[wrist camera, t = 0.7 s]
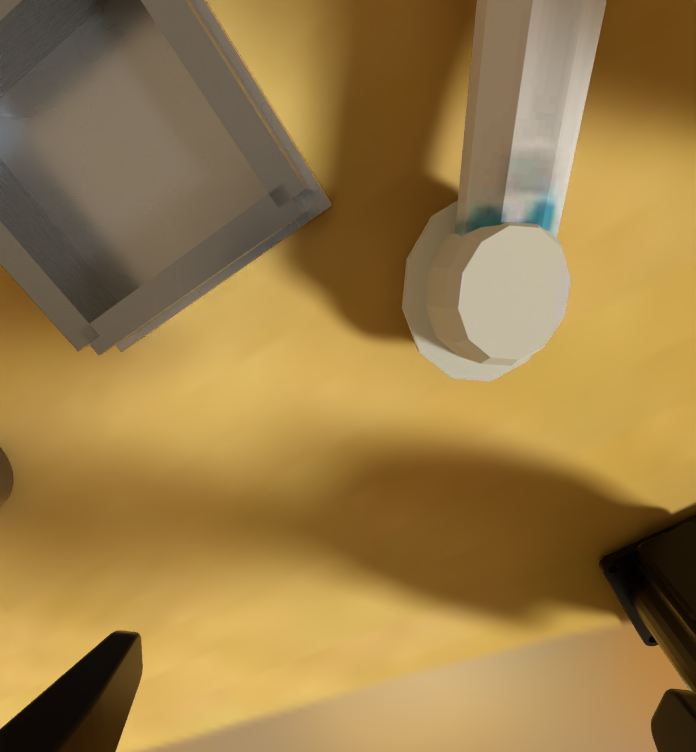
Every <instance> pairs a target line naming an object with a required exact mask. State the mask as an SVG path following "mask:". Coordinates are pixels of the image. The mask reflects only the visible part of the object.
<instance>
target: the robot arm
mask: <svg viewBox="0 0 696 752" xmlns="http://www.w3.org/2000/svg"><path fill="white" fill-rule="evenodd" d="M612 565H613V566H612ZM599 566H600V568H601V570H602V572H603V574H604V575H605V577H606V579H607V581H608V582H609V584H610V586H611V587H612V589H613V591H614V593H615V594H616V596H617V598H618V599H619V601H620V603H621V605H622V606H623V608H624V610H625V611H626V613H627V615H628V617H629V618H630V620H631V622H632V624H633V625H634V627H635V629H636V630H637V632H638V634H639V636H640V637H641V639H642V640H643V642H644V643H645V644H646V645H648V646H656V645H659V646H660V647H661V649H662V650H663V651H664V653H665V655H666V656H667V657H668V659H669V661H670V662H671V663H672V665H673V666H674V668H675V669H676V671H677V672H678V674H679V675H680V677H681V678H682V680H683V681H684V683H685V684H686V685H687V687H688V688H689V690H690V691H689V690H680V689H669V690H667V691H666V692H665V693H664V695H663V697H662V699H661V701H660V703H659V705H658V707H657V709H656V711H655V713H654V715H653V717H652V720H651V731H652V736H653V739H654V742H655V745H656V747H657V750H658V752H696V516H694V517H692V518H690V519H687V520H685V521H683V522H681V523H679V524H676V525H674V526H672V527H670V528H667V529H665V530H663V531H661V532H659V533H656V534H654V535H652V536H650V537H648V538H645V539H643V540H641V541H639V542H636V543H634V544H632V545H630V546H628V547H625V548H623V549H621V550H619V551H616V552H614V553H612V554H610V555H608V556H605V557H604V558H602V560H601V561H600V563H599ZM611 566H612V567H611ZM142 669H143V664H142V646H141V636H140V634H139V633H137V632H129V631H115V632H113V633H111V634H110V635H109V636H108V637H106V638H105V639H104V640H103V641H102V642H101V643H99V644H98V645H97V646H96V647H95V648H94V649H93V650H91V651H90V652H89V653H88V654H87V655H86V656H84V657H83V658H82V659H81V660H80V661H79V662H77V663H76V664H75V665H74V666H73V667H72V668H71V669H69V670H68V671H67V672H66V673H65V674H64V675H62V676H61V677H60V678H59V679H58V680H57V681H55V682H54V683H53V684H52V685H51V686H50V687H48V688H47V689H46V690H45V691H44V692H43V693H42V694H40V695H39V696H38V697H37V698H36V699H35V700H33V701H32V702H31V703H30V704H29V705H28V706H26V707H25V708H24V709H23V710H22V711H21V712H20V713H18V714H17V715H16V716H15V717H14V718H13V719H11V720H10V721H9V722H8V723H7V724H6V725H4V726H3V727H2V728H1V729H0V752H115V751H116V749H117V746H118V743H119V740H120V737H121V734H122V731H123V729H124V726H125V723H126V720H127V717H128V714H129V712H130V709H131V706H132V703H133V700H134V697H135V694H136V692H137V689H138V686H139V683H140V680H141V675H142Z"/></svg>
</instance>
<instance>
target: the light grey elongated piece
mask: <svg viewBox="0 0 696 752" xmlns="http://www.w3.org/2000/svg"><path fill="white" fill-rule="evenodd" d="M606 2H607V0H477V4H476V15H475V25H474V36H473V46H472V57H471V68H470V78H469V89H468V99H467V110H466V120H465V131H464V142H463V152H462V163H461V173H460V184H459V195H458V200H457V201H455V202H454V203H452V204H450V205H449V206H447V207H446V208H444V209H442V210H441V211H439V212H437V213H436V214H434V215H432V216H431V218H430V219H429V221H428V223H427V224H426V226H425V228H424V230H423V231H422V233H421V235H420V236H419V238H418V240H417V242H416V243H415V245H414V247H413V248H412V250H411V252H410V254H409V255H408V257H407V259H406V269H405V279H404V289H403V300H402V310H403V312H404V315H405V318H406V320H407V323H408V326H409V329H410V331H411V334H412V337H413V340H414V342H415V345H416V348H417V350H418V351H419V352H420V353H421V354H422V355H423V356H425V357H426V358H427V359H428V360H429V361H431V362H432V363H433V364H434V365H436V366H437V367H438V368H439V369H441V370H442V371H443V372H444V373H445V374H447V375H448V376H449V377H450V378H452V379H466V380H480V381H492V380H494V379H496V378H498V377H500V376H502V375H503V374H505V373H507V372H509V371H511V370H512V369H514V368H516V367H518V366H520V365H521V364H523V363H525V362H527V361H529V360H530V358H531V357H532V355H533V354H534V353H536V352H538V351H539V350H541V349H542V348H543V347H544V346H545V345H546V343H547V342H548V340H549V339H550V338H551V336H552V335H553V333H554V332H555V330H556V329H557V327H558V326H559V324H560V323H561V321H562V320H563V318H564V317H565V313H566V307H567V302H568V296H569V290H570V285H571V278H570V275H569V271H568V268H567V264H566V261H565V257H564V254H563V250H562V247H561V244H560V241H559V240H558V239H557V235H558V230H559V225H560V220H561V216H562V211H563V206H564V201H565V197H566V192H567V187H568V182H569V178H570V173H571V168H572V164H573V159H574V154H575V149H576V145H577V140H578V135H579V130H580V126H581V121H582V116H583V111H584V107H585V102H586V97H587V92H588V88H589V83H590V78H591V73H592V69H593V64H594V59H595V54H596V50H597V45H598V40H599V35H600V31H601V26H602V21H603V17H604V12H605V7H606Z"/></svg>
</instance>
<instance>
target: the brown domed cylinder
mask: <svg viewBox="0 0 696 752" xmlns="http://www.w3.org/2000/svg"><path fill="white" fill-rule="evenodd" d="M12 486H13V473H12V469H11V465H10V463H9V461H8V458H7V457H6V455H5V453H4V452H3V451H2V449H1V448H0V506H1V505H2V504H3V503H4V502H5V501H6V500H7V498H8V497H9V495H10V493H11V490H12Z"/></svg>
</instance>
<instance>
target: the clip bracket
mask: <svg viewBox="0 0 696 752" xmlns="http://www.w3.org/2000/svg"><path fill="white" fill-rule="evenodd" d="M332 205H333V204H332V203H331V201H330V199H329V198H328V196H327V195H326V193H325V191H324V190H323V188H322V186H321V185H320V183H319V182H318V180H317V178H316V177H315V175H314V174H313V172H312V170H311V169H310V167H309V166H308V164H307V162H306V161H305V159H304V157H303V156H302V154H301V153H300V151H299V149H298V148H297V146H296V145H295V143H294V141H293V140H292V138H291V137H290V135H289V133H288V132H287V130H286V128H285V127H284V125H283V124H282V122H281V120H280V119H279V117H278V116H277V114H276V112H275V111H274V109H273V108H272V106H271V104H270V103H269V101H268V99H267V98H266V96H265V95H264V93H263V91H262V90H261V88H260V87H259V85H258V83H257V82H256V80H255V79H254V77H253V75H252V74H251V72H250V70H249V69H248V67H247V66H246V64H245V62H244V61H243V59H242V58H241V56H240V54H239V53H238V51H237V50H236V48H235V46H234V45H233V43H232V41H231V40H230V38H229V37H228V35H227V33H226V32H225V30H224V29H223V27H222V25H221V24H220V22H219V21H218V19H217V17H216V16H215V14H214V12H213V11H212V9H211V8H210V6H209V4H208V3H207V1H206V0H0V265H1V266H2V267H3V268H4V269H5V270H6V271H7V272H8V274H9V275H10V276H11V277H12V278H13V279H14V280H15V281H16V282H17V284H18V285H19V286H20V287H21V288H22V289H23V290H24V291H25V293H26V294H27V295H28V296H29V297H30V298H31V299H32V300H33V301H34V303H35V304H36V305H37V306H38V307H39V308H40V309H41V310H42V312H43V313H44V314H45V315H46V316H47V317H48V318H49V319H50V320H51V322H52V323H53V324H54V325H55V326H56V327H57V328H58V329H59V331H60V332H61V333H62V334H63V335H64V336H65V337H66V338H67V339H68V341H69V342H70V343H71V344H72V345H73V346H74V347H75V348H76V350H77V351H80V350H81V349H83V348H85V347H87V346H89V345H90V346H91V347H92V348H93V349H94V350H95V351H96V352H97V354H98V355H101V354H103V353H104V352H106V351H107V350H109V349H110V348H112V347H114V346H115V345H116V346H117V347H118V348H119V350H120V351H121V352H122V351H124V350H125V349H127V348H128V347H129V346H131V345H132V344H134V343H135V342H137V341H138V340H140V339H141V338H143V337H144V336H145V335H147V334H148V333H150V332H151V331H153V330H154V329H155V328H157V327H158V326H160V325H161V324H163V323H164V322H165V321H167V320H168V319H170V318H171V317H173V316H174V315H176V314H177V313H178V312H180V311H181V310H183V309H184V308H186V307H187V306H188V305H190V304H191V303H193V302H194V301H196V300H197V299H199V298H200V297H201V296H203V295H204V294H206V293H207V292H209V291H210V290H211V289H213V288H214V287H216V286H217V285H219V284H220V283H221V282H223V281H224V280H226V279H227V278H229V277H230V276H232V275H233V274H234V273H236V272H237V271H239V270H240V269H242V268H243V267H244V266H246V265H247V264H249V263H250V262H252V261H253V260H255V259H256V258H257V257H259V256H260V255H262V254H263V253H265V252H266V251H267V250H269V249H270V248H272V247H273V246H275V245H276V244H278V243H279V242H280V241H282V240H283V239H285V238H286V237H288V236H289V235H290V234H292V233H293V232H295V231H296V230H298V229H299V228H300V227H302V226H303V225H305V224H306V223H308V222H309V221H311V220H312V219H313V218H315V217H316V216H318V215H319V214H321V213H322V212H323V211H325V210H326V209H328V208H329V207H331V206H332Z"/></svg>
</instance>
